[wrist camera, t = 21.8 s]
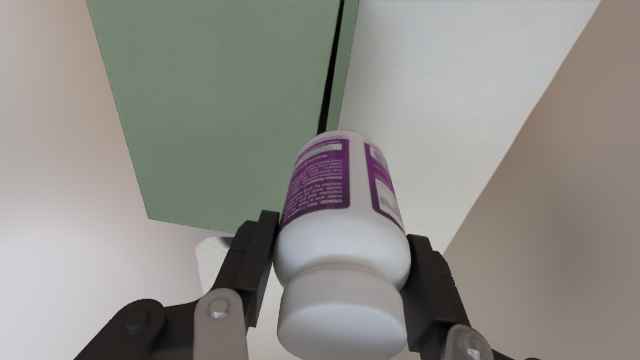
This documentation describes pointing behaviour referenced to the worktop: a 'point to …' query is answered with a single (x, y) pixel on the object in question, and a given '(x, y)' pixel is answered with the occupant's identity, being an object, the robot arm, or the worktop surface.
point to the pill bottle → (341, 253)
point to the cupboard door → (341, 62)
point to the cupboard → (216, 99)
